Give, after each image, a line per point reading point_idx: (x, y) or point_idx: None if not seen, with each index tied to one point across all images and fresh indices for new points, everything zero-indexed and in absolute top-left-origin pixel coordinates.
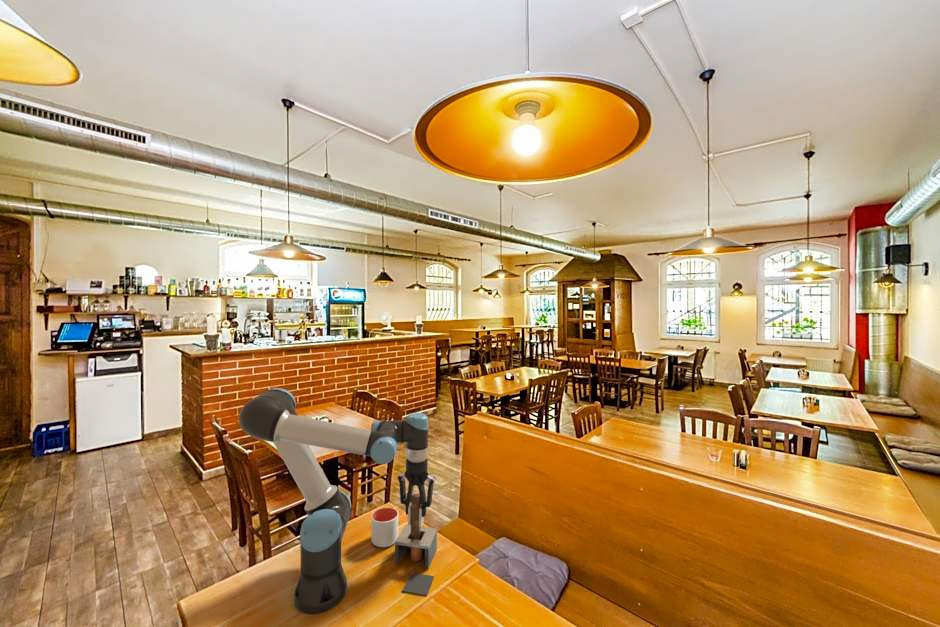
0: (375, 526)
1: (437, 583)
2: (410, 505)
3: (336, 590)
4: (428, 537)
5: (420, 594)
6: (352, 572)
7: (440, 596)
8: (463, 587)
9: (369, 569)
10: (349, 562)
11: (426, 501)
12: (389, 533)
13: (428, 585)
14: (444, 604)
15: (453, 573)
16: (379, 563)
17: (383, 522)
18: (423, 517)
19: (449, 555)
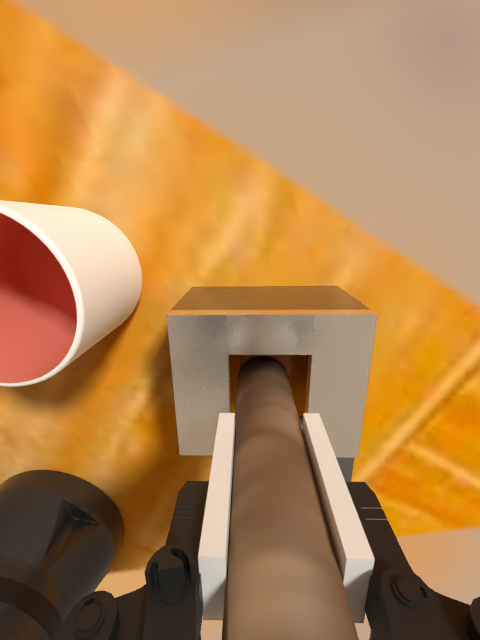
0: (9, 368)
1: (372, 440)
2: (214, 593)
3: (101, 577)
4: (342, 398)
5: None
6: (84, 447)
7: (390, 479)
8: (462, 440)
9: (127, 427)
10: (43, 412)
11: (446, 634)
12: (104, 336)
13: (347, 458)
14: (406, 500)
15: (424, 392)
16: (144, 397)
17: (36, 382)
18: (329, 441)
19: (399, 304)
